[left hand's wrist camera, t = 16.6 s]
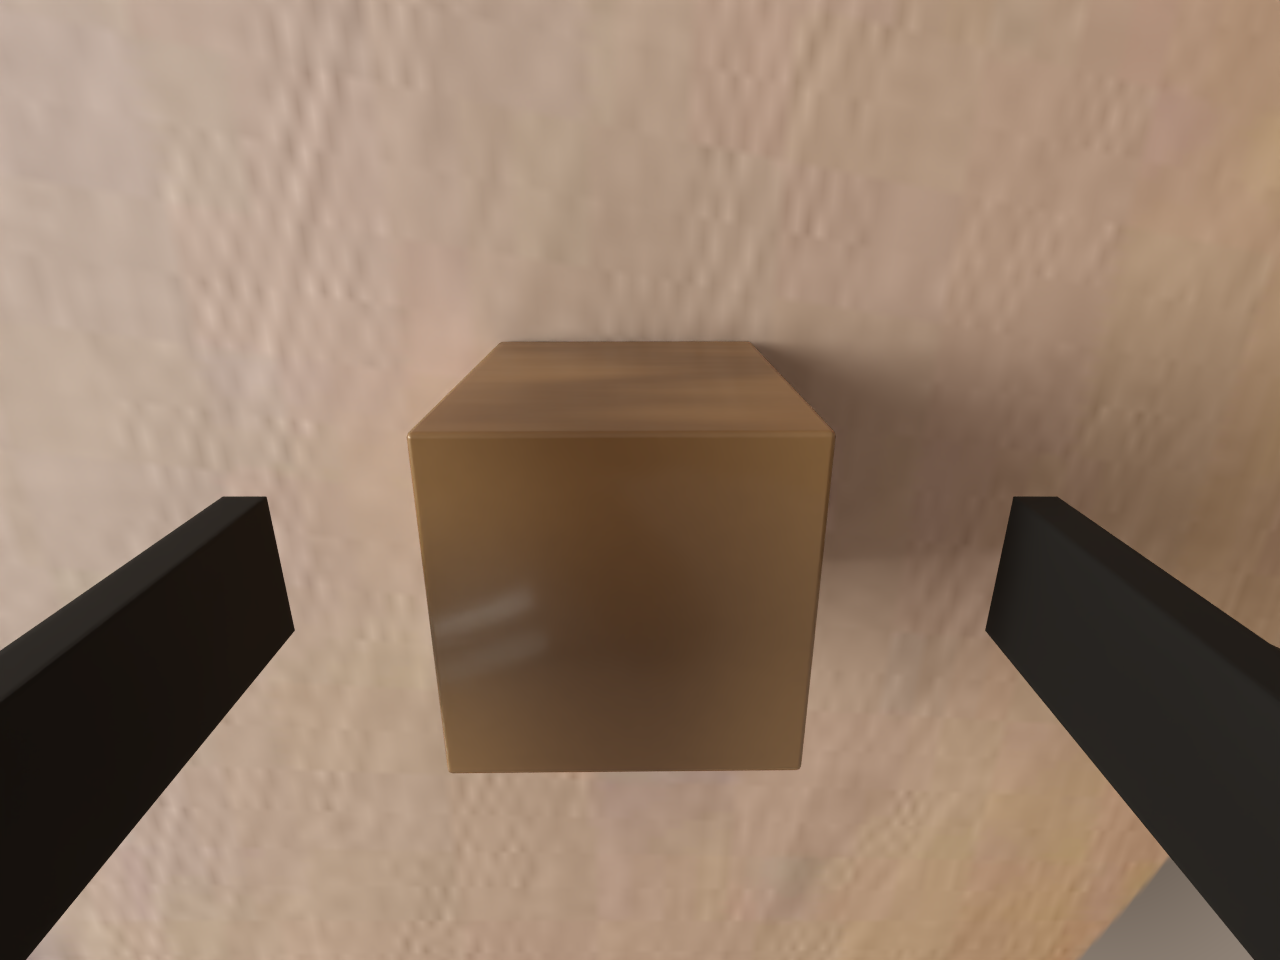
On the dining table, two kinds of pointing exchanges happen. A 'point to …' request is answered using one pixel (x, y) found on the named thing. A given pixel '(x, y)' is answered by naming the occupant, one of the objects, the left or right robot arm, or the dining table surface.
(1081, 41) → the dining table surface
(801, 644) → the block
